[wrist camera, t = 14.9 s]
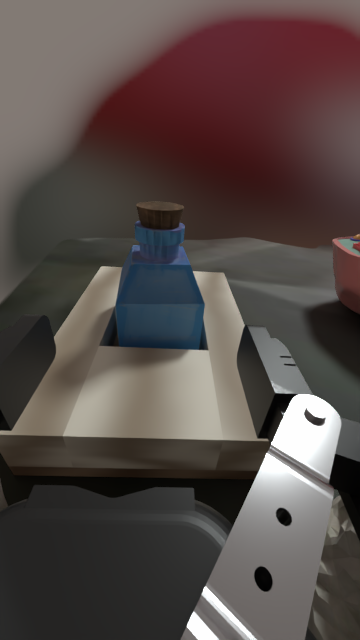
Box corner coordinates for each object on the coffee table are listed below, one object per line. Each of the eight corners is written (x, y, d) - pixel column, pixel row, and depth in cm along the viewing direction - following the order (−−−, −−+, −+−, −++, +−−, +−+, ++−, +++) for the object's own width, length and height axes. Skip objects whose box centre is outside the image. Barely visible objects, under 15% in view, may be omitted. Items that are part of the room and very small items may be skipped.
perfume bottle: (196, 367, 21) (216, 217, 15) (121, 371, 20) (107, 213, 14) (186, 326, 26) (197, 200, 20) (125, 327, 26) (116, 196, 19)
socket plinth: (218, 301, 34) (223, 272, 31) (270, 479, 15) (290, 441, 13) (104, 295, 33) (101, 266, 31) (13, 475, 14) (-11, 434, 12)
